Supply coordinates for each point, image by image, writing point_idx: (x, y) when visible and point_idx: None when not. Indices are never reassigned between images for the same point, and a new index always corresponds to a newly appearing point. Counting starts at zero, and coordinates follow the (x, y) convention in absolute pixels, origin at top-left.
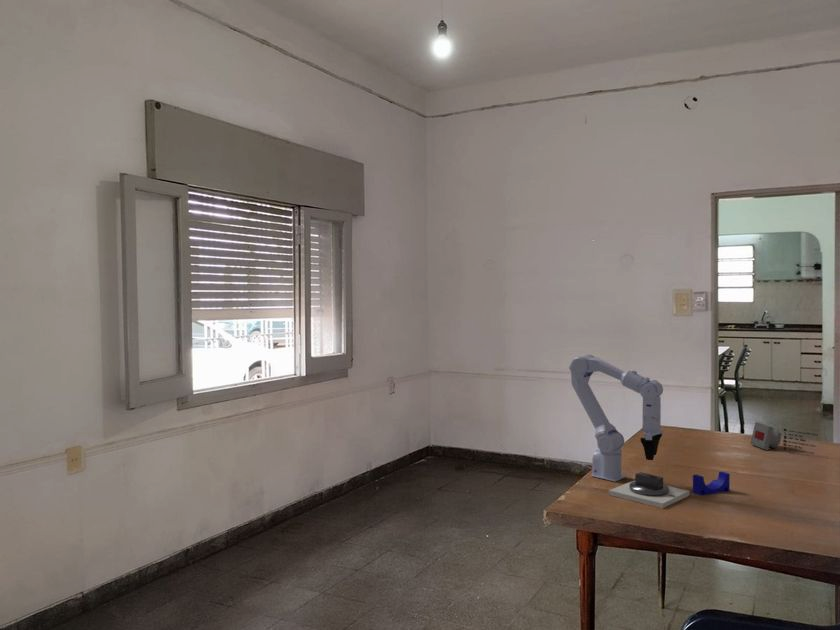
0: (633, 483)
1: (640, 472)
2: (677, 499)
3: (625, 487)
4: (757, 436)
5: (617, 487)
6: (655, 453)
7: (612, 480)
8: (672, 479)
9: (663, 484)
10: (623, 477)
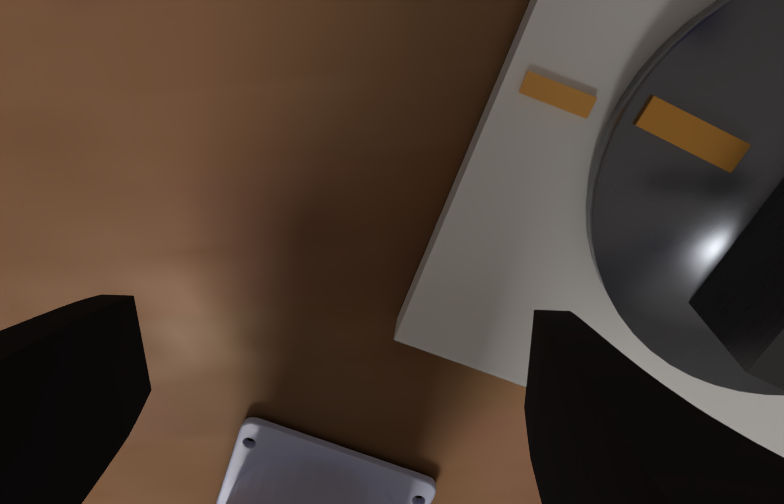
0: (735, 365)
1: (762, 374)
2: None
3: (741, 404)
4: None
5: None
6: (116, 315)
7: (430, 500)
8: (48, 7)
9: (684, 48)
10: (303, 438)
